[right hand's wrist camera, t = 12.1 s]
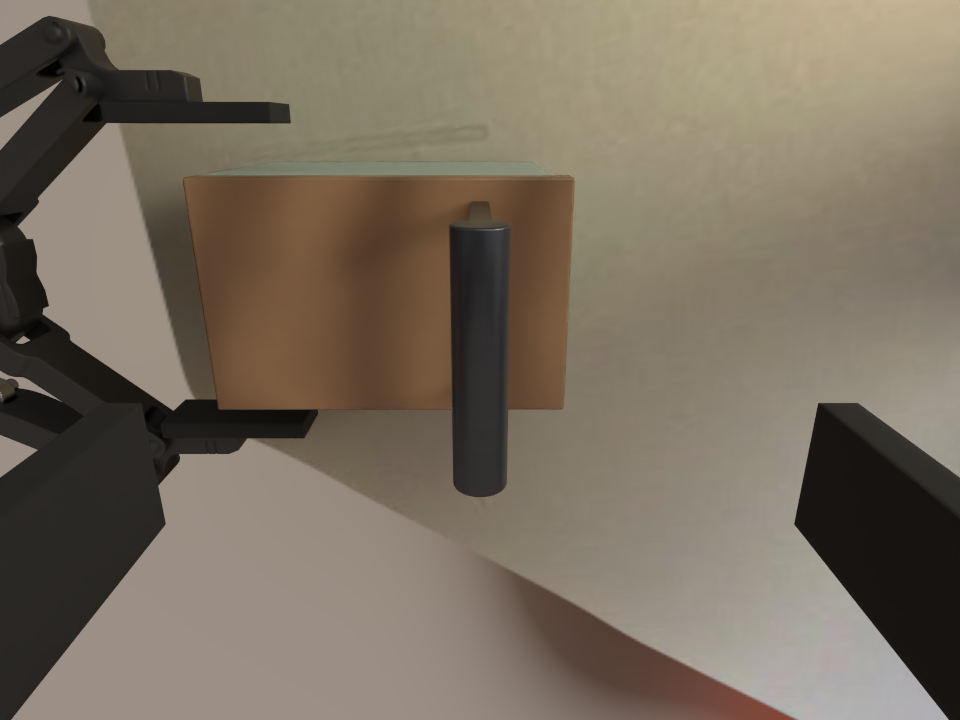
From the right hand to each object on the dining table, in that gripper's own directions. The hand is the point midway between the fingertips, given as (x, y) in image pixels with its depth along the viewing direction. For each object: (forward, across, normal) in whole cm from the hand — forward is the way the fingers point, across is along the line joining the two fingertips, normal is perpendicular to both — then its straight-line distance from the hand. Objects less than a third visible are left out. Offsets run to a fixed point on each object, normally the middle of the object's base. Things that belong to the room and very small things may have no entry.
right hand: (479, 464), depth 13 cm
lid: (+14, -4, 0) cm, 14 cm away
